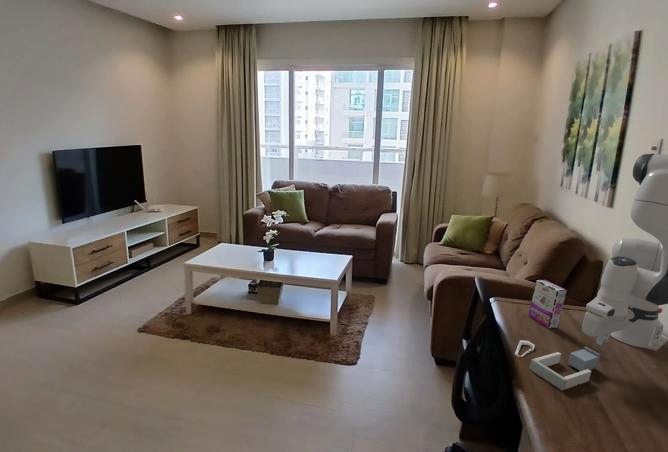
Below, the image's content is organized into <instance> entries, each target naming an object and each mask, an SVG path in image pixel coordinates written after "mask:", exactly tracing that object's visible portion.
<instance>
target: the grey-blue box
mask: <svg viewBox="0 0 668 452" xmlns="http://www.w3.org/2000/svg"><path fill="white" fill-rule="evenodd" d="M600 358H601V353H599V352H598V351H595V350H593V349H591V348H590V347H588V346H584V347H583V349H579V350H575V351H572V352H570V353H569V356H568V361H567V364H568V366H569V367H570V368H573V369H574V368H575V369H576V370H577V371H578V372H580V371H583V370H586V369H588V370H590V371H591V372H592V371H594V370H596V368H598V365H599V362H600Z"/></svg>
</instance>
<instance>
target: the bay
mask: <svg viewBox="0 0 668 452" xmlns="http://www.w3.org/2000/svg"><path fill="white" fill-rule="evenodd" d="M561 356H562V353H561V352H559V351H556V352H553V353H549V354H547V355H546V354H545V355H543V356H542V355H541V356H539V357H535V358H532V359H530V364H529V370H531V371H532V372H534V373H535V374H536V375H538V376H539V377H541V378H542V379H544V380H546V381H547V382H549V383H550V384H552V385H553V386H555V387H556V388H557V389H559V390H560V391H564V390H567V389H569V388H573V387H575V386H579V385H582V384H584V383H587V382H589V381H590V378H591V374H592V370H591V371H590V370H588V369H586V370H583V371H580V372H579V371H577V372H574V373H572V374H568V375H566V376H562V375H561V374H559V373H558V372H556V371H554V370H553V369H551V368H550V366H555V365H556V364H559V363H560V361H561ZM578 384H579V385H578Z"/></svg>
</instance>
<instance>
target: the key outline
mask: <svg viewBox="0 0 668 452" xmlns="http://www.w3.org/2000/svg"><path fill="white" fill-rule="evenodd" d="M523 345H524V346H528V347H530V348H529V349H528V350H526V351H525V352H524V353H523V354H521V355H520V354H519V353H520V350H521V346H523ZM535 346H536V344H534V343H532V342H530V341H529V340H524V339H522V340H521V339H520V340H519V342H518V344H517V347H516V350H515V352H514V356H516V357H518V358H523V357H525V356H526V355H527V354H529V353H531V352H534V349H535Z"/></svg>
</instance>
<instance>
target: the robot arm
mask: <svg viewBox="0 0 668 452" xmlns="http://www.w3.org/2000/svg"><path fill="white" fill-rule="evenodd" d="M634 162H635V163H633V165H632V177H633V179H634V180H635V182H637V183H638V185H639V187H638V189H637V191H636V193H635V197H634V200H633V201H632V205H631V208H630V218H631V220H632V222H633V223H634V224H635V226H637V227H638V228H639V229H641V230H643V231H644V232H646V233H647V234H649V235H651V236H653V237H654V238H655V239H657V240H658V242H657V241H651V240H645V239H640V238H633V237H632V238H628V237H627V238H625V237H623V238H622V237H621V238H620V239H618V240H616V242H615V243H614V244H613V246H612V248H611V256H612V257H610V258H609V259H608V261H607V263H606V266H605V268H604V270H603V273H602V276H601V280H600V288H599V290H598V292H597V295H596V296H595V297H594V298H593V299H592V300H591V301H590V302H588V303H586V307H585V309H586V310H587V311H586V313H584V317H583V321H582V326H581V331H582V333H583V334H584V335H587V336H589V337H591V338H594V337H596V341H595V343H596V344H597V345H599V346H602V345H603V346H604V345H607V342H608V340H609V338H610V337H613V338H614V339H615V340H618V341H620V342H622V343H624V344H627V345H630V346H632V347H633V346H634V347H638V348H643V349H649V350H653V351H658V350H659V349H661V348H662V347H663V346H664V345H665V344H666V343H667V342H668V337H666V336H665V334H663V330H664V325H663V323H662V322H661V321H660V320H659V315H660V314H661V313H662V312H663V307H659V306H664V305H668V153H667V154H661V153H660V154H659V153H658V154H655V153H644V154H642V155H640V156H639V157H637V159H636V160H635V161H634Z"/></svg>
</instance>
